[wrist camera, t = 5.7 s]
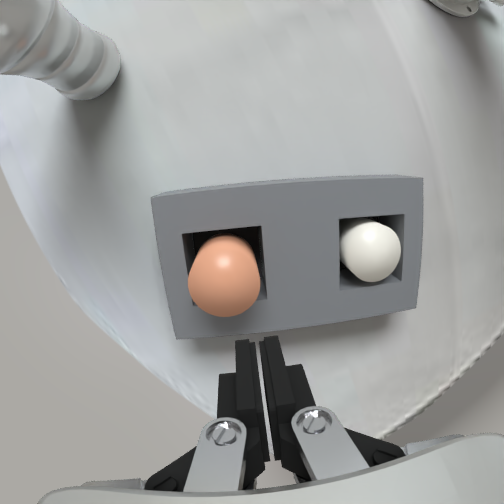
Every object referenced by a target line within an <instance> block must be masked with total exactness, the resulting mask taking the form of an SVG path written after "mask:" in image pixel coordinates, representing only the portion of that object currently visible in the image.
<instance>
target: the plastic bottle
mask: <svg viewBox="0 0 504 504" xmlns="http://www.w3.org/2000/svg"><path fill="white" fill-rule="evenodd" d="M120 65H121V58H120V53H119V51H118V48H117V46H116V44H115V43H114V41H113V40H112V39H111V38H109V37H108V36H106V35H104V34H102V33H100V32H97V31H94V30H92V29H90V28H89V27H87V26H85V25H84V24H82V23H80V22H79V21H78V20H77V19H76V18H75V17H74V16H73V15H72V14H71V13H70V12H69V11H68V10H67V9H66V8H65V7H64V6H63V5H62V3H61V2H60V1H59V0H0V74H4V75H20V76H24V77H28V78H34V79H37V80H41V81H43V82H45V83H47V84H48V85H50V86H52V87H54V88H55V89H56V90H57V91H59V92H60V93H61V94H63V95H64V96H66V97H68V98H70V99H73V100H90V99H93V98H96V97H98V96H100V95H101V94H103V93H104V92H105V91H106V90H107V89H108V88H109V87H110V86H111V85H112V84H113V82H114V81H115V79H116V77H117V75H118V72H119V69H120Z"/></svg>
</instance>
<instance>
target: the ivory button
mask: <svg viewBox="0 0 504 504" xmlns="http://www.w3.org/2000/svg"><path fill="white" fill-rule="evenodd" d="M400 254H401V246H400V241H399V238H398V236H397V235H396V233H395V232H394V231H393V230H392V229H390V228H389V227H387V226H385V225H382V224H380V223H378V222H376V221H373V220H371V219H369V218H366V217H355V218H343V219H341V220H340V221H339V257H340V261H341V262H342V263H343V264H344V265H345V266H346V267H347V268H348V269H349V270H350V271H351V272H352V273H354V274H355V275H356V276H357V277H358V278H359V279H361V280H363V281H366V282H377V281H380V280H382V279H384V278H386V277H387V276H389V275H390V274H391V273H392V272H393V270H394V269H395V268H396V266H397V264H398V262H399V259H400Z"/></svg>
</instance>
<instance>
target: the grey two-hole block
mask: <svg viewBox="0 0 504 504" xmlns="http://www.w3.org/2000/svg"><path fill="white" fill-rule="evenodd" d="M151 204H152V212H153V219H154V226H155V232H156V239H157V245H158V251H159V257H160V262H161V268H162V273H163V279H164V284H165V289H166V294H167V299H168V304H169V309H170V314H171V318H172V323H173V327H174V332H175V336H176V339H191V338H206V337H219V336H231V335H242V334H252V333H262V332H271V331H279V330H288V329H295V328H303V327H310V326H318V325H324V324H331V323H338V322H344V321H350V320H356V319H362V318H368V317H373V316H379V315H384V314H389V313H395V312H400V311H405V310H409V309H414V308H416V304H417V296H418V288H419V278H420V267H421V254H422V236H423V178H420V177H411V176H402V175H363V176H336V177H316V178H299V179H285V180H271V181H259V182H248V183H238V184H228V185H218V186H209V187H201V188H192V189H184V190H177V191H169V192H164V193H161V194H159V195H156V196H154V197H151ZM368 216H379V223H380V224H382V225H385V226H387V227H389V228H390V229H392V230H393V231H394V232H395V233H396V235H397V236H398V238H399V241H400V246H401V254H400V259H399V262H398V264H397V266H396V268H395V269H394V270H393V272H392V273H391V274H390V275H389V276H387V277H386V278H384V279H382V280H380V281H377V282H366V281H363V280H361V279H359V278H358V277H357V276H356V275H355V274H354V273H352V272H351V271H350V270H349V269H348V268H345V269H340V257H339V219H342V218H355V217H368ZM251 226H258V234H259V246H260V257H261V269H262V278H260V291H259V295H258V297H257V299H256V301H255V302H254V303H253V305H252V306H251V307H250V308H249V309H247V310H246V311H244V312H243V313H241V314H238V315H235V316H231V317H218V316H214V315H211V314H209V313H207V312H205V311H203V310H202V309H201V308H199V307H198V306H197V305H196V303H195V302H194V301H193V299H192V297H191V295H190V293H189V289H188V277H189V273H190V270H191V268H192V265H193V263H194V261H195V258H196V257H195V250H194V243H193V236H192V233H193V232H202V231H212V230H221V229H231V228H241V227H251Z"/></svg>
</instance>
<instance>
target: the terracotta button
mask: <svg viewBox="0 0 504 504" xmlns="http://www.w3.org/2000/svg"><path fill="white" fill-rule="evenodd" d="M188 289H189V293H190V295H191V297H192V299H193V301H194V302H195V303H196V305H197V306H198V307H199V308H201V309H202V310H203V311H205V312H207V313H209V314H211V315H214V316H218V317H231V316H235V315H238V314H241V313H243V312H244V311H246V310H247V309H249V308H250V307H251V306H252V305H253V303H254V302H255V301H256V299H257V297H258V295H259V291H260V276H259V272H258V267H257V263H256V258H255V254H254V251H253V249H252V247H251V246H250V244H249V243H248V242H247V241H246V240H245V239H243V238H242V237H240V236H238V235H235V234H231V233H221V234H217V235H214V236H212V237H210V238H208V239H207V240H206V241H205V242H204V243H203V244H202V246H201V247H200V249H199V251H198V253H197V256H196V258H195V261H194V263H193V265H192V268H191V270H190V273H189V277H188Z"/></svg>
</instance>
